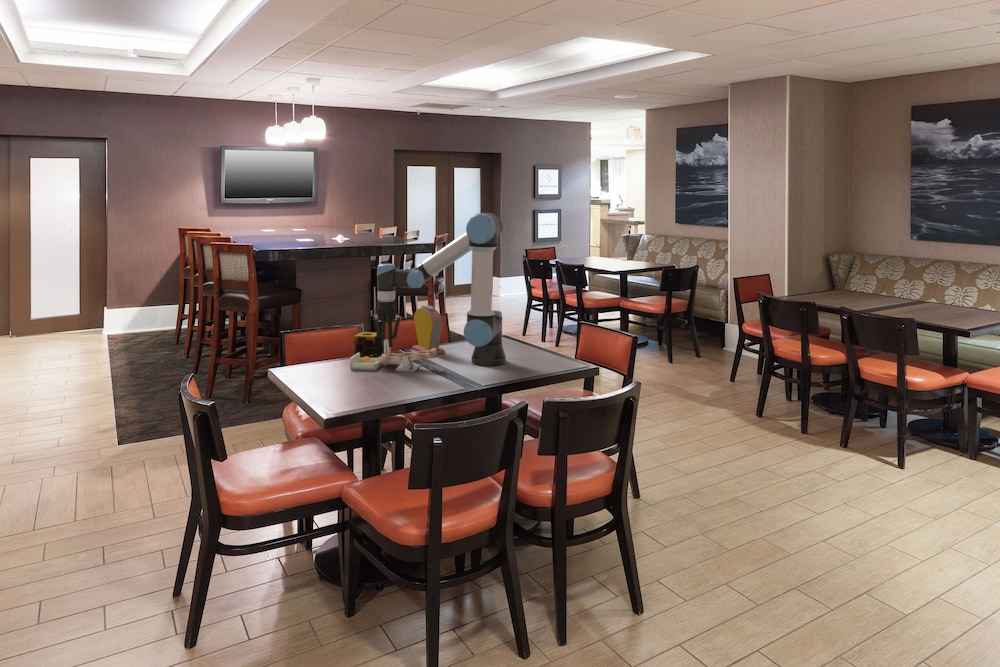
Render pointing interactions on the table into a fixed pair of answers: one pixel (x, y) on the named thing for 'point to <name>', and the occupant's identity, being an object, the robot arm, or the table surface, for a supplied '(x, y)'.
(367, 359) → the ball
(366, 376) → the table surface
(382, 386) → the table surface
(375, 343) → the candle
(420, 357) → the beige piece
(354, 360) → the tray
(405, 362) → the fulcrum
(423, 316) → the pink yellow-faced device
